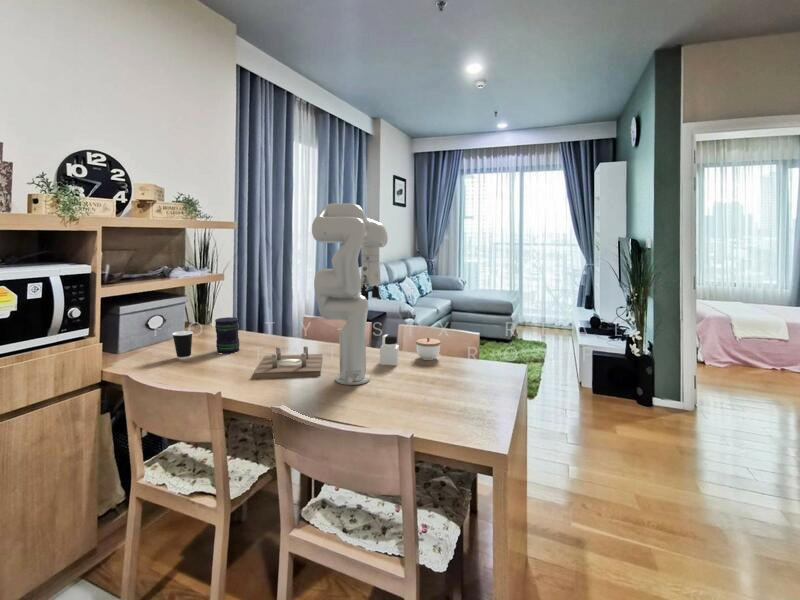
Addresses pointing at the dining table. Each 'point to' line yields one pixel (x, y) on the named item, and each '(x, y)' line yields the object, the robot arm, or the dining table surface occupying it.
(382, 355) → the medicine bottle
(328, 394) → the dining table surface
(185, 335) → the dixie cup
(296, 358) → the peg board
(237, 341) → the storage jar
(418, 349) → the lidded jar
